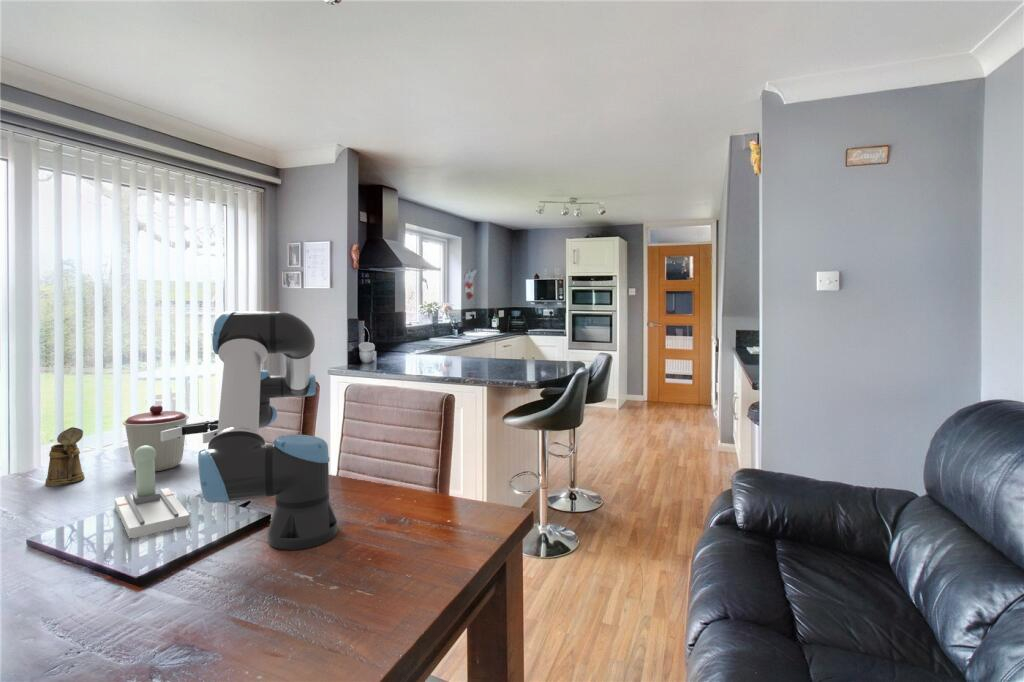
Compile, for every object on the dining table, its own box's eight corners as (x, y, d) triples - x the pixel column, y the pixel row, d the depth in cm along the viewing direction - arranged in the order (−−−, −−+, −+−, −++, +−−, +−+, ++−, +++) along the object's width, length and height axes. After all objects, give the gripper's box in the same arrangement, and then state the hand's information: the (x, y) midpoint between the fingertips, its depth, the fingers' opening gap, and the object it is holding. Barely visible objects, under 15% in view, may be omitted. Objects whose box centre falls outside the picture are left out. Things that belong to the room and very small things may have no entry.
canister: (137, 462, 178) (134, 401, 177) (196, 458, 184) (194, 399, 183) (114, 478, 161) (111, 411, 160) (180, 473, 167) (178, 408, 165)
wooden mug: (55, 491, 149) (52, 430, 148) (41, 482, 157) (38, 423, 156) (93, 483, 156) (90, 424, 155) (78, 475, 164) (76, 418, 163)
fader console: (189, 524, 127) (189, 511, 127) (129, 539, 119) (128, 525, 118) (168, 496, 146) (167, 485, 146) (114, 507, 138) (114, 495, 137)
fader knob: (160, 499, 136) (158, 445, 136) (135, 504, 133) (133, 449, 132) (156, 494, 140) (154, 442, 139) (132, 499, 136) (130, 445, 136)
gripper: (272, 436, 162) (222, 452, 141) (203, 432, 167) (145, 448, 146) (272, 412, 162) (221, 425, 141) (202, 409, 166) (144, 422, 146)
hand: (182, 437), depth 143 cm, fingers open, 13 cm apart
